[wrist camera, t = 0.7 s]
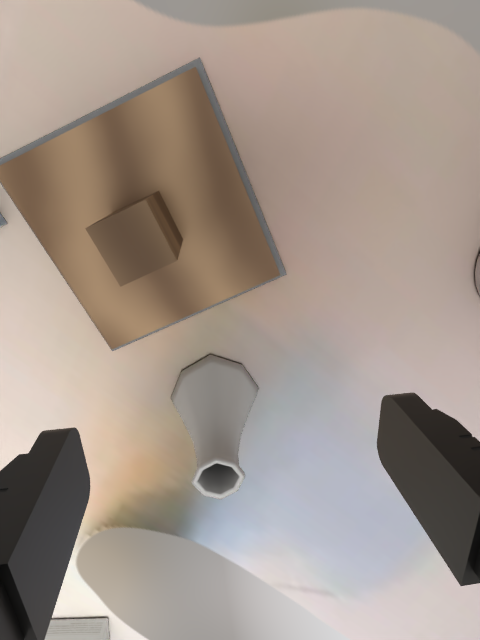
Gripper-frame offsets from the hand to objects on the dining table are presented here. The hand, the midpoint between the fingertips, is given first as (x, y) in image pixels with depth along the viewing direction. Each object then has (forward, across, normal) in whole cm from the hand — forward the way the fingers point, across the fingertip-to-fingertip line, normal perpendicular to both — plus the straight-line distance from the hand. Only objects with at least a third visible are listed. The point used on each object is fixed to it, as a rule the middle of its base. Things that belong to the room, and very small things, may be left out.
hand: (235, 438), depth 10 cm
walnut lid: (+20, +4, -3) cm, 20 cm away
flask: (+21, 0, +11) cm, 24 cm away
